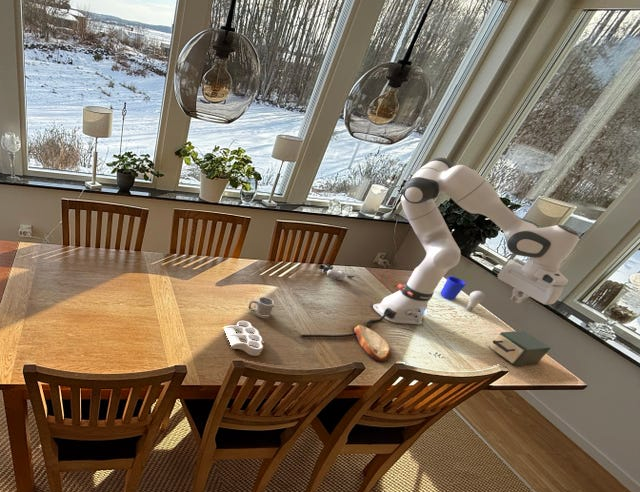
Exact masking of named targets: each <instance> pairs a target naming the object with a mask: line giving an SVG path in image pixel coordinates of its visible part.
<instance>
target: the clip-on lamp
mask: <svg viewBox="0 0 640 492" xmlns="http://www.w3.org/2000/svg"><path fill="white" fill-rule="evenodd" d="M318 269H319V270H322V271H321V272H322V274H325V273H326V275H327V276H328V277H331V278H334V279H335V280H336V281H343V280H344V279H345V278H346V277H347V278H356V276H355V275H347V267H346V266H344V268H343V270H333V269H334V266H333V265H331V264H327V265H326V264H323V263H321V264H320V263H319V266H318Z"/></svg>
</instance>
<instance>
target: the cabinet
mask: <svg viewBox="0 0 640 492" xmlns="http://www.w3.org/2000/svg"><path fill="white" fill-rule="evenodd" d="M499 335H502V336H505V337H506V338H507V339H509V340H510V341H512V342H513V343H515V344H516V345H518V346H519V347H521V348H522V349H524V352H523V353H522V354H521V355H520V357H519V358H518V359H517V360H516V361H515V363H511V362H510V361H508V360H507V359H506V358H504V357H503V356H501V355H500V354H499V353H497V352H496V351H495V350H493V349H492V348H490V350H492V351H493V352H495V353H496V354H498V355H499V356H500V357H501V358H503V359H504V360H505V361H507V362H508V363H510V364H511V365H512V366H525V365H535V364H538V363H540V361H541V360H542V358H544V356H545V355H546V354H547V353H548V352H549V351H550V350H551V347H550V346H549V345H548V344H546V343H544V341H543V342H542V340H540V339H538V338H537V337H535V336H533V335H532V334H530V333H529V332H527V331H525V330H514V331H513V330H511V331H501V332H500V333H499Z"/></svg>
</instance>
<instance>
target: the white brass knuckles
mask: <svg viewBox="0 0 640 492" xmlns="http://www.w3.org/2000/svg"><path fill="white" fill-rule="evenodd" d="M239 325H244V326H246V327H244V326H239ZM223 329H224V331H225V333H226V335H225V337H226V336H227V337H226V339H227V338H228V339H227V341H228V340H229V342H230V344H229V346H230V345H231V347H244V348H246V349H247V350H248V351H250V352H252V353H259V354H252V353H250V352H248V351H247V350H246V349H243V348H242V350H241V351H243V352H245V353H246V354H247V355H249V356H253V357H257V356H260V355H261V354H262V352H263V348H264V345H263V344H264V343H266V342H265V341H264V340H263V337H262V336H261V335H260V331H259V330H258V329H257V328H255V327H254V326H252V323H251V322H249V321H247V320H239V321H237V323H236V325H225V326H224V327H222V330H223ZM236 329H237V330H239V331H241V332H242V333H240V332H238V331H235V330H236ZM224 331H223V332H224ZM236 332H237V333H236ZM250 332H253V333H254V334H253V333H250ZM225 333H224V334H225ZM239 338H243V339H245V340H246V341H245V340H240V339H239ZM252 339H255V340H252ZM256 340H257V341H256ZM229 342H228V343H229ZM246 342H247V343H246ZM249 345H253V346H256V347H258V348H256V347H253V346H249ZM231 347H230V348H231ZM260 352H261V353H260Z"/></svg>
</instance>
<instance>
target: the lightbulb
mask: <svg viewBox="0 0 640 492" xmlns="http://www.w3.org/2000/svg"><path fill="white" fill-rule="evenodd" d="M468 297H469V299H468V302H467V306H466V307H465V309H466V311H473V309H474V308H476V306H477V305H479V304H481V303H483V302H484V301H485V299H486V295H485V293H484V292H483V291H480V290H474V291H472V292H470V294H469V296H468Z"/></svg>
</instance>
